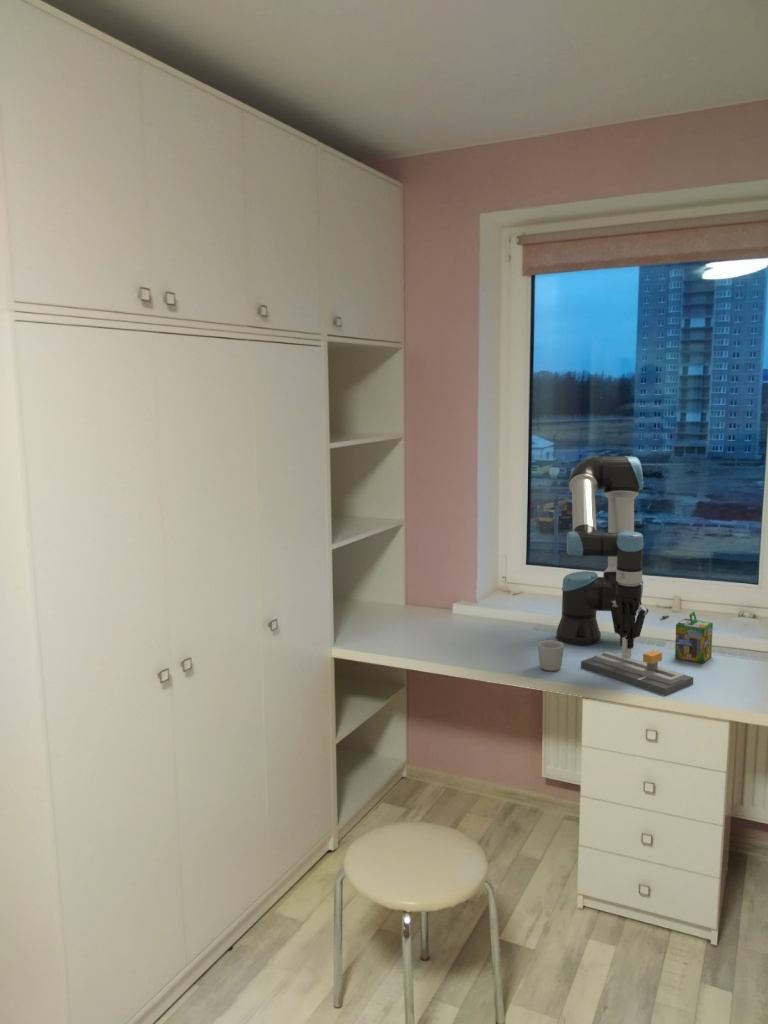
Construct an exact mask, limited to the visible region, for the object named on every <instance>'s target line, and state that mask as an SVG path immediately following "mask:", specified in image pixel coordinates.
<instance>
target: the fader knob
mask: <svg viewBox="0 0 768 1024" xmlns="http://www.w3.org/2000/svg"><path fill="white" fill-rule="evenodd" d="M662 660H663V652H661V651H658V650H650V651H647V652H644V653H643V654H642V662H644V663H647V670H650V671H653V672H656V673H657V668H658V667H659V665H658V664H659V662H662Z"/></svg>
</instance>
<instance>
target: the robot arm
mask: <svg viewBox="0 0 768 1024" xmlns="http://www.w3.org/2000/svg"><path fill="white" fill-rule="evenodd" d="M643 488H644V475H643V468H642V463H641V460H640V459H639V458H638V457H636V456H627V455H622V456H621V455H620V456H614V455H613V456H610V455H609V456H608V455H607V456H600V455H595V456H591V457H586V458H585V459H583V460H582V461H581V462H579V463H578V464H577V465H576V466H575V467H574V468H573V470H572V471H571V474H569V480H568V489H569V490H570V493H571V501H572V502H571V504H572V505H571V507H572V513H571V514H572V531H568V532H567V533H566V553H567V554H568V555H569V556H578V557H607V568H606V569H605V570H604V571H603V574H602V575H603V576H598V574H597V573H598V572H597V573H596V572H595V571H589V570H588V571H587V570H586V571H584V570H583V571H575V572H571V573H569V574H566V575H565V576H564V577H563V579H562V587H561V591H562V595H561V596H562V598H561V599H562V600H561V618H560V621H559V623H558V626H557V629H556V631H555V633H556V639H557V640H558V642H561V643H563V644H568V645H574V646H575V645H576V646H591V645H595V644H598V643H600V642H601V641H602V633H601V631H600V627H599V623H598V620H597V612H599V611H600V612H610V613H611V618H612V626H613V630H614V633H615V634H617V635H618V636H619V640H620V641H619V646H620V647H621V656H622V658H623V659H628V658H632V649H633V648H634V646H635V645H634V642H635V641H634V640H635V639H636V638H638V637H639V638H640V636H641V633H642V629H643V625H644V623H645V622H644V621H645V618H646V615H648V613H649V609H648V608H645V607H644V606H643V605H642V598H643V592H644V591H643V590H644V579H643V560H644V559H643V555H644V545H645V543H644V535H643V534H642V533H641V532H639V531H635V499H636V498H637V497H638V496H639V493H640V492H639V491H641V490H643ZM597 490H603V496H604V497H606V499H607V500H608V503H607V504H608V508H607V509H608V512H607V516H608V517H607V518H608V519H607V521H608V522H607V525H608V528H607V531H608V532H604V531H603V532H601V531H600V532H599V531H597V511H596V491H597Z"/></svg>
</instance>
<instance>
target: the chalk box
mask: <svg viewBox="0 0 768 1024" xmlns="http://www.w3.org/2000/svg"><path fill="white" fill-rule="evenodd" d="M713 626H714V624H713V622H709V621H704V620H699V619H697V615H696V612H695V611H694V610H693V611H692V612H691V613H689V618H684V619H682V620H680V621H678V622H677V623H676V624H675V646H674V647H675V648H674V649H675V650H674V652H675V653H674V659H677V660H678V659H679V660H682V661H683V660H684V661H687V662H688V661H689V662H696V663H700V664H704V663H705V662H706V661H708V660H709V659H710V658H711V657H712V651H713V650H712V649H713Z"/></svg>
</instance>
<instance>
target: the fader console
mask: <svg viewBox="0 0 768 1024" xmlns="http://www.w3.org/2000/svg"><path fill="white" fill-rule="evenodd" d="M580 668H582V669H585V670H588V671H591V672H593V673H594V672H595V673H597V674H600V675H603V676H607V677H609V678H612V679H615V680H618V681H621V682H624V683H627V684H629V685H633V686H635V687H639V688H641V689H645V690H647V691H651V692H653V693H657V694H659V695H662V696H667V695H670V694H672V693H675V692H677V691H680V690H682V689H684V688H686V687H689V686H691V685H694V677H693V676H689V675H688V674H687V675H686V674H683V673H679V672H677V671H674V670H670V669H668V668H664V667H660V666H658V668H657V673H656V672H653V671H650V670H647V663H646V662H643V661H641V660H636V659H633V658H632V657H630V658H628V659H623V658H622V654H618V653H614V652H611V651H604V652H602V653H601V654H599V653H598V654H595V655H593V657H589V658H586V659H583V660H581V661H580Z"/></svg>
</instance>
